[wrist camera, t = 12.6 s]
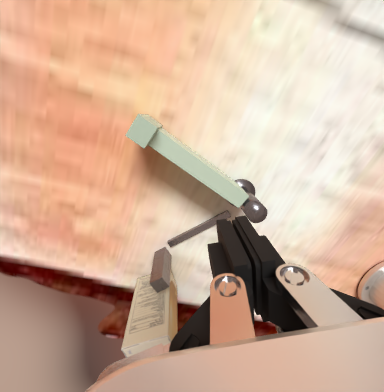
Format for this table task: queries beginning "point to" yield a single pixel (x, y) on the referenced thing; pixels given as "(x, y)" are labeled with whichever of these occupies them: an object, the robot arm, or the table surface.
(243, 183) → the dark grey rounded knob
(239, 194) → the gate
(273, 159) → the table surface
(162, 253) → the latch post
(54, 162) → the table surface
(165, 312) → the skincare box
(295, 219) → the table surface
